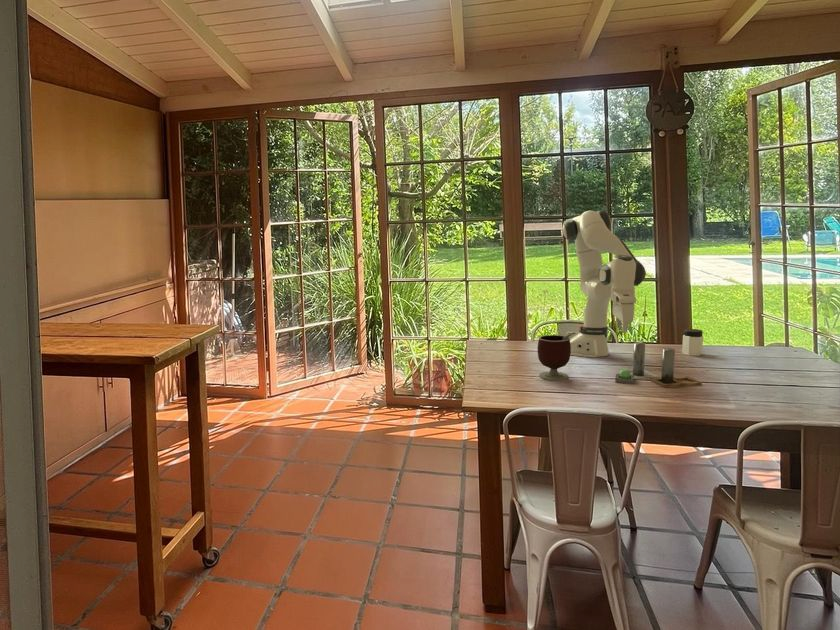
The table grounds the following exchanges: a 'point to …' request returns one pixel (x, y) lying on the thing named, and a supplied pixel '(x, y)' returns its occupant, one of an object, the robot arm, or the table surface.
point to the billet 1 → (638, 359)
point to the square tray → (646, 376)
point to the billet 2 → (667, 365)
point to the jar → (692, 342)
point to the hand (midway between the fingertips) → (621, 330)
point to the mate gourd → (554, 355)
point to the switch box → (624, 379)
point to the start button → (624, 373)
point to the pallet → (677, 382)
